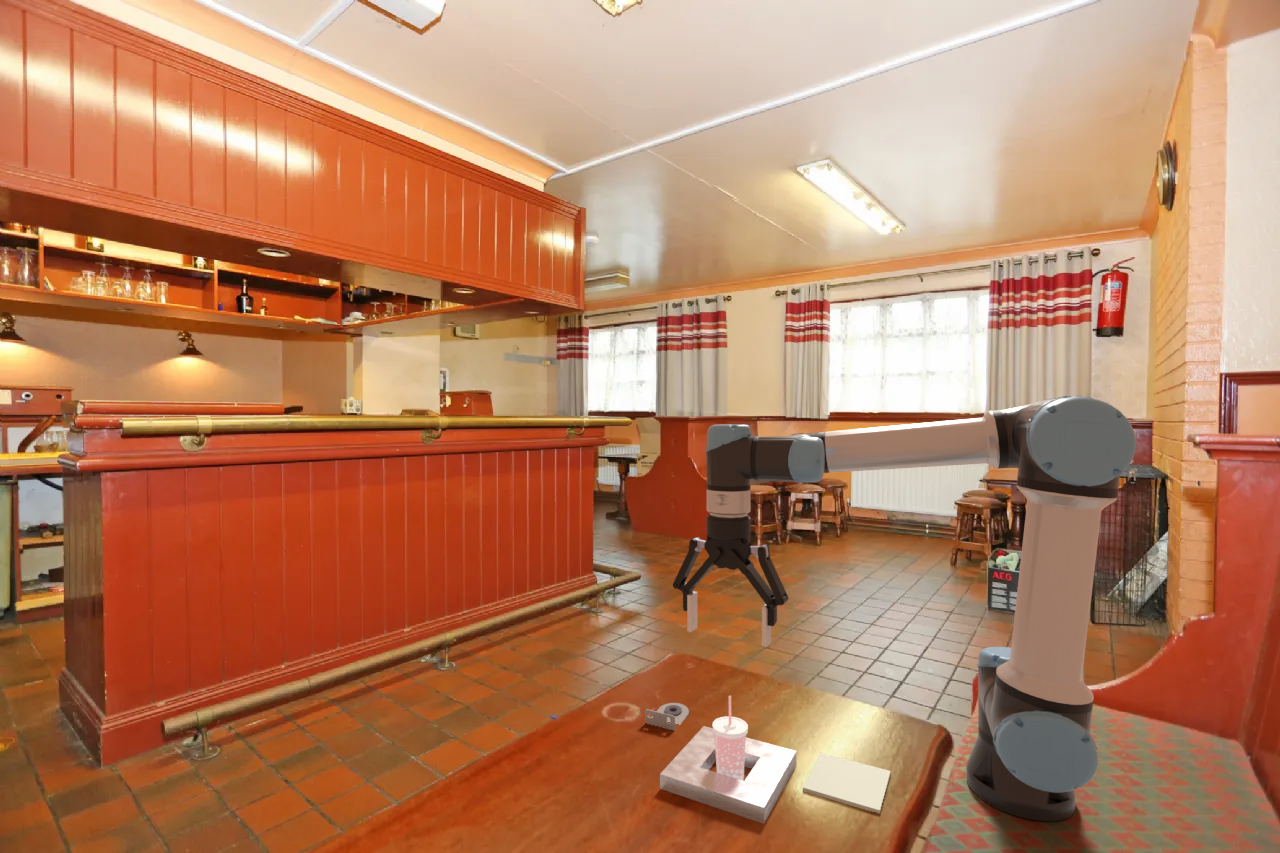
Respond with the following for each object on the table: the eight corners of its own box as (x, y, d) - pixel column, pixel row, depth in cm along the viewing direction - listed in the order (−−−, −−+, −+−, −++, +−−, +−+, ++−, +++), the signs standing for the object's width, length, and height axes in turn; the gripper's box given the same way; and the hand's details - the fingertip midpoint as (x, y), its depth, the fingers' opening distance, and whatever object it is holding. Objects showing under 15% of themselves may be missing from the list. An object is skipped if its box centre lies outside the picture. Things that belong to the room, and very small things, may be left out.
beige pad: (890, 774, 105) (890, 771, 105) (879, 814, 94) (879, 810, 94) (820, 755, 111) (820, 752, 111) (802, 791, 100) (802, 787, 100)
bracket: (693, 711, 129) (693, 695, 129) (674, 733, 120) (674, 716, 120) (665, 704, 132) (665, 689, 132) (644, 726, 123) (644, 709, 123)
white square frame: (796, 764, 108) (796, 750, 108) (764, 824, 92) (764, 807, 92) (703, 738, 117) (703, 726, 117) (660, 788, 101) (659, 773, 101)
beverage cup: (755, 782, 103) (754, 700, 103) (723, 790, 100) (723, 707, 100) (736, 763, 108) (736, 685, 108) (706, 770, 106) (705, 691, 106)
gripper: (654, 511, 107) (654, 630, 107) (794, 523, 94) (794, 658, 95) (673, 505, 113) (673, 618, 114) (806, 516, 101) (806, 642, 101)
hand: (728, 636), depth 104 cm, fingers open, 13 cm apart
